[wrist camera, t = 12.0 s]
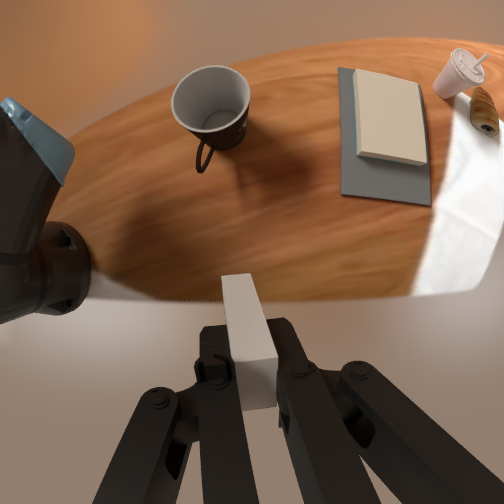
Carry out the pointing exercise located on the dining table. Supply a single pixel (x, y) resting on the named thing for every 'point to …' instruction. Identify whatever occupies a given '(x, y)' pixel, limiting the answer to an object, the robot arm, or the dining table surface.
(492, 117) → the pastry
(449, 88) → the smoothie
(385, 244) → the dining table surface
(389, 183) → the mat
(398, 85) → the tile
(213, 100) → the coffee mug
